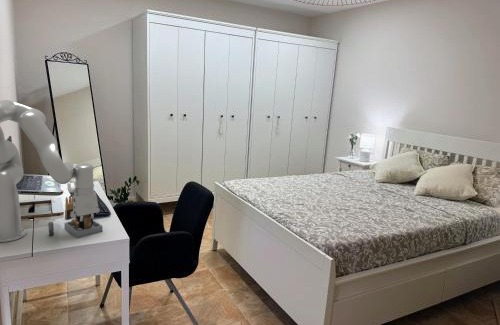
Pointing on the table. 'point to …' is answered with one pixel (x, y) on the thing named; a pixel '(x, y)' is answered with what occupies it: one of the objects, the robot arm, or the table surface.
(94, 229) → the tray
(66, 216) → the ammunition clip
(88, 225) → the wooden block toy
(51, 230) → the stake
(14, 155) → the robot arm
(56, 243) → the table surface
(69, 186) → the figurine
